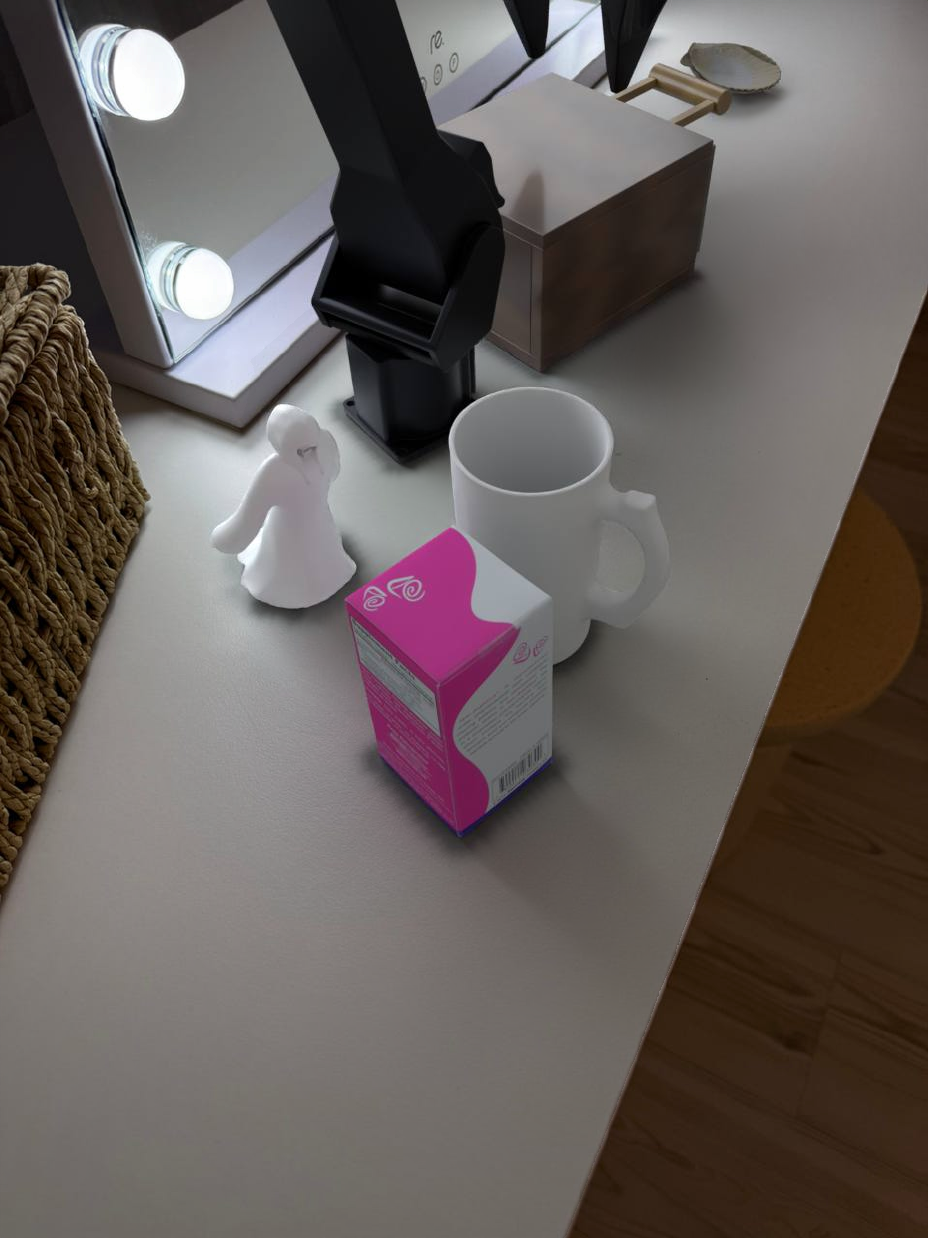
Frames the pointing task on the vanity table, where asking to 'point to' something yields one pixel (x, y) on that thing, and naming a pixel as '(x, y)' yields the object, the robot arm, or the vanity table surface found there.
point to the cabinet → (585, 211)
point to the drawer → (689, 91)
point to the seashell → (732, 66)
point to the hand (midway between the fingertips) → (576, 73)
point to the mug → (552, 504)
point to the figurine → (290, 517)
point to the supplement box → (457, 675)
